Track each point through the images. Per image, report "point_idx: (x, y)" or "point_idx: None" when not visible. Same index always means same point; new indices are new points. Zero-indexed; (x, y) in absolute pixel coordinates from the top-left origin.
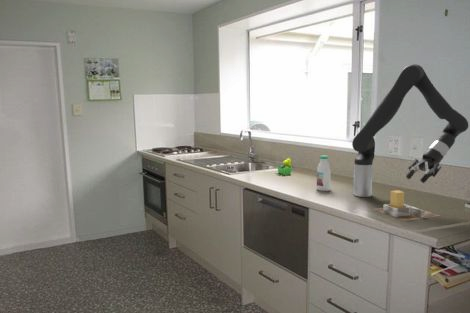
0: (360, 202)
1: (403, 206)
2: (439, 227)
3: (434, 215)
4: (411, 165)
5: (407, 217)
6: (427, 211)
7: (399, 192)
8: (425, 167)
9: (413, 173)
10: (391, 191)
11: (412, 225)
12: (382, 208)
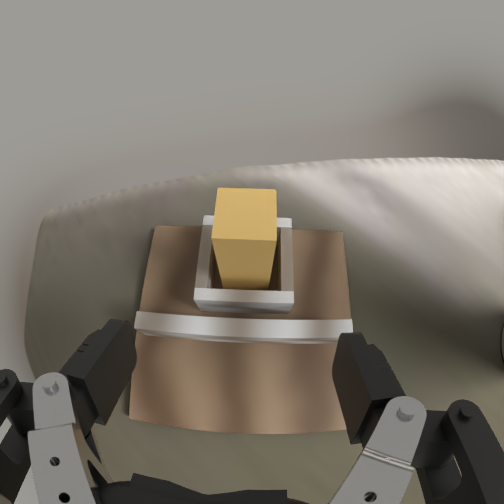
0: (453, 276)
1: (221, 276)
2: (69, 302)
3: (142, 398)
4: (473, 451)
5: (179, 269)
6: (205, 428)
7: (221, 207)
8: (75, 455)
9: (352, 433)
10: (269, 190)
11: (129, 240)
12: (336, 272)
